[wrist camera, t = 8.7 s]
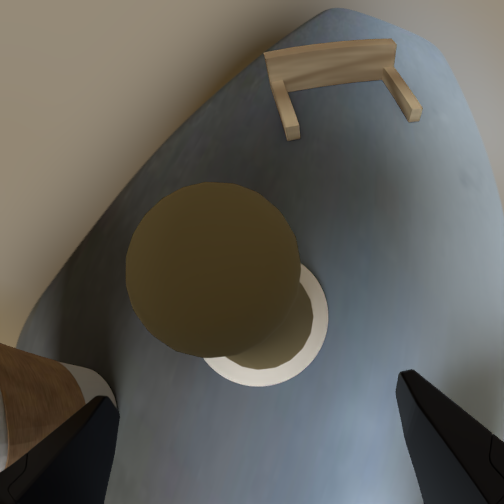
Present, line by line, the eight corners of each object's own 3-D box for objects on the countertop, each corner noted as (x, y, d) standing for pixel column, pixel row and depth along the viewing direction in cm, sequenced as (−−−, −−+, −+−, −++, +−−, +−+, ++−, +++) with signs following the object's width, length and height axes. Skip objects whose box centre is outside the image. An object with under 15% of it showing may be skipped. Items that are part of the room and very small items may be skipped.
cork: (326, 282, 18) (343, 172, 8) (292, 384, 16) (265, 414, 6) (230, 254, 20) (150, 138, 9) (194, 348, 18) (64, 316, 8)
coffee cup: (98, 328, 20) (-95, 256, 6) (156, 437, 17) (-64, 482, 3) (35, 379, 19) (-126, 347, 6) (79, 475, 16) (-91, 502, 2)
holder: (419, 121, 21) (429, 85, 17) (287, 140, 22) (281, 102, 19) (387, 72, 23) (391, 38, 20) (270, 88, 25) (263, 52, 21)
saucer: (352, 347, 17) (352, 346, 16) (225, 406, 17) (223, 407, 16) (289, 231, 20) (288, 229, 19) (176, 288, 20) (173, 286, 19)
